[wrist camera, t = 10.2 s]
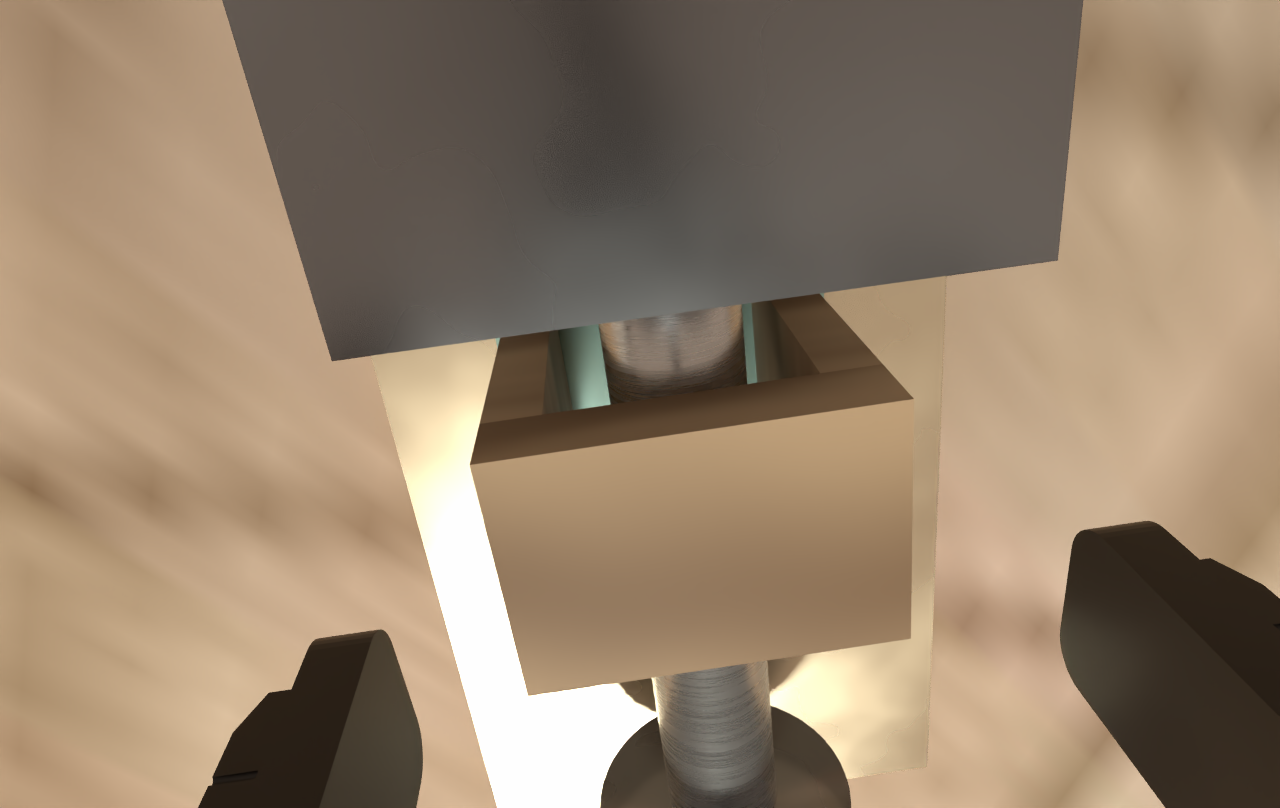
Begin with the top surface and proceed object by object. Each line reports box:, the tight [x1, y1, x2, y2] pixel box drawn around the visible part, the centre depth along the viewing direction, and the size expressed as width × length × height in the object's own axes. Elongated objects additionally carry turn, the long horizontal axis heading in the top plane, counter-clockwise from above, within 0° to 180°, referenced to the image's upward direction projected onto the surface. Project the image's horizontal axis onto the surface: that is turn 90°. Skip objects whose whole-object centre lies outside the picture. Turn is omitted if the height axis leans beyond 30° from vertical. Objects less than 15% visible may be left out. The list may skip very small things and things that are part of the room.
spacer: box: [470, 293, 914, 697], centre depth 14 cm, size 4×6×7 cm
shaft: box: [598, 304, 851, 808], centre depth 15 cm, size 18×6×6 cm, turn 7°
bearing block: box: [222, 0, 1083, 808], centre depth 15 cm, size 26×12×9 cm, turn 7°
